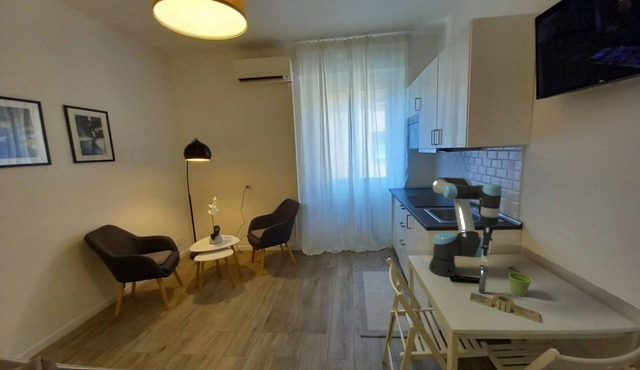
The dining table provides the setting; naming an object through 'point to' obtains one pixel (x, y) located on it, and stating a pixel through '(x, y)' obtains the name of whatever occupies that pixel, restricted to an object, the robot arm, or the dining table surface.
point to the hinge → (505, 305)
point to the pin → (482, 278)
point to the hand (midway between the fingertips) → (485, 256)
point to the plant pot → (519, 283)
